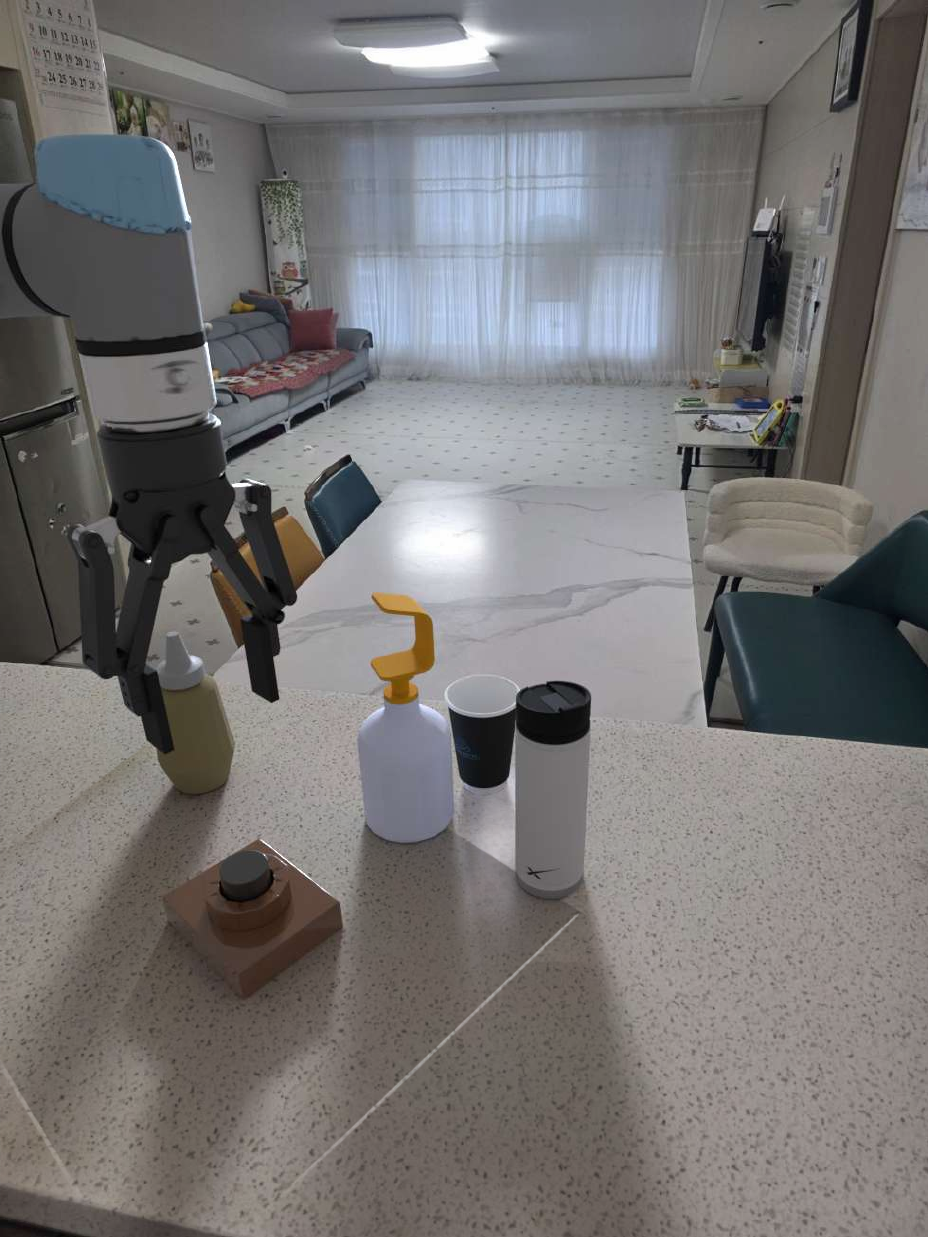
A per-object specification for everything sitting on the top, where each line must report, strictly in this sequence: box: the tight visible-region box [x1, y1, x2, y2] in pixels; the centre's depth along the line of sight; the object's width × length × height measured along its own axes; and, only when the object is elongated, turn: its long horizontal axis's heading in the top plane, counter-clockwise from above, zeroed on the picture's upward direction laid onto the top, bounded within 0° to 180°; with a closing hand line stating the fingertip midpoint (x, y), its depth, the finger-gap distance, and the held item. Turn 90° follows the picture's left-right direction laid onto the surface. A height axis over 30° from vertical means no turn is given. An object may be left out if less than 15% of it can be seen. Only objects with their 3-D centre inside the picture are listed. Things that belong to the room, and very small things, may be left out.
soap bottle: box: [356, 592, 455, 844], centre depth 79 cm, size 9×9×25 cm
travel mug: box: [514, 680, 592, 900], centre depth 71 cm, size 6×7×20 cm
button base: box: [161, 838, 344, 1001], centre depth 71 cm, size 12×10×5 cm
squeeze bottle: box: [155, 630, 236, 795], centre depth 87 cm, size 8×8×18 cm
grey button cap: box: [219, 850, 271, 902], centre depth 69 cm, size 4×4×2 cm
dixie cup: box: [443, 674, 521, 796], centre depth 86 cm, size 8×8×11 cm
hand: (215, 718), depth 62 cm, fingers open, 8 cm apart
